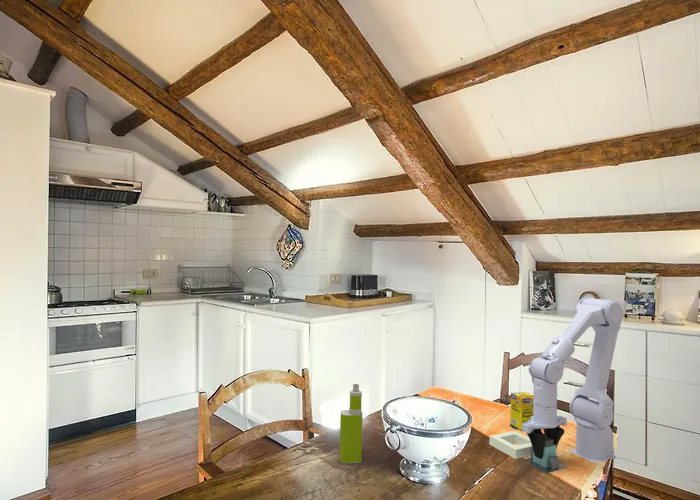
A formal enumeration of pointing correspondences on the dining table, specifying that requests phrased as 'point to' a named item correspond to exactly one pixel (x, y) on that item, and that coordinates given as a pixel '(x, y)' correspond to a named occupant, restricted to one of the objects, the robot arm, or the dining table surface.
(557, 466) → the grey socket plate
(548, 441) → the plug
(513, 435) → the port
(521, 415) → the supplement box
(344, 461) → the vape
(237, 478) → the dining table surface
